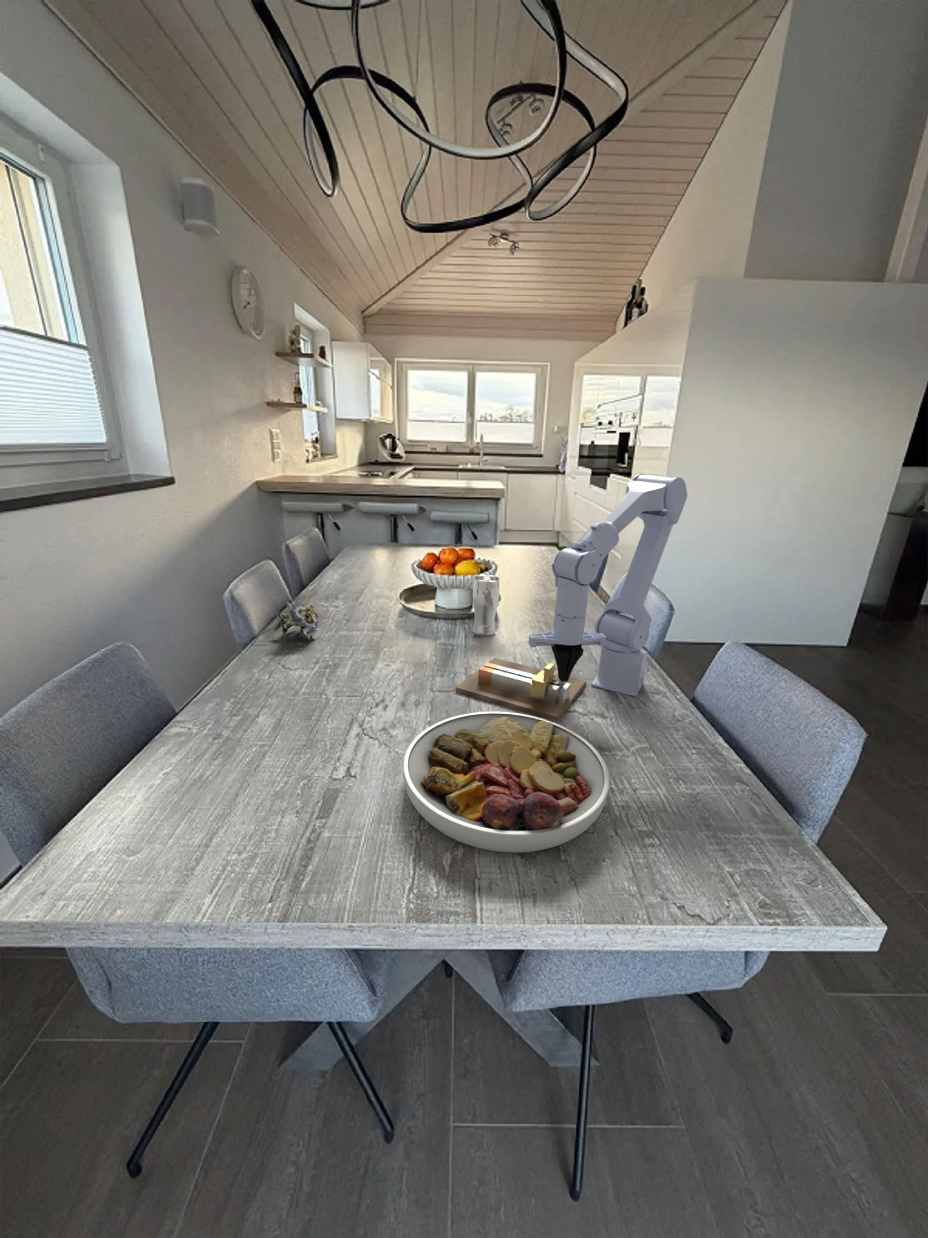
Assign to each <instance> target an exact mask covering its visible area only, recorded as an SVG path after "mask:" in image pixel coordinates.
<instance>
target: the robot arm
mask: <svg viewBox="0 0 928 1238" xmlns="http://www.w3.org/2000/svg"><path fill="white" fill-rule="evenodd" d="M687 499H688V490H687V484H686V482H685V480H684V479H683V477H682V476H681V477H680V476H676V477H671V476H660V475H652V474H644V473H637V474H636V475H634V476H633V477H632V479H631V480H630V481H629V482H628V483H627V485H626V489H625V495H624V497H623V498H622V499H621V500H620V502H619V503H618V504H617V506H616V507H615V508H614V509H613V510H612V511H611V513H610V514H609V515H608V516H607V517H606V519H605V520H604V521H603V520H602V521H601V520H599V521H596V522H592V524H591V525H590V527H589V528H588V529H587V530H586V531H585V532H584V533H583V534H582V535H581V536H580V537H579V539H578V540H577V541H575V543H573V545H572V546H571V547H566V548H563V549H562V550H560V551H559V552H558V553H557V554H556V555H555V557H554V560H553V563H551V570H552V574H553V575H554V585H555V587H556V594H555V595H556V596H555V605H554V616H553V625H552V626H553V627H552V631H546V632H545V631H544V632H540V633H539V632H538V633H534V634H533V633H529V634H528V635H529V636H528V645H529V647H530V648H537V647H544V646H545V647H551V650H552V653H553V657H554V659H555V662H556V663H555V665H556V666H557V667H556V668H557V674H558V678H559V679H560V681H561V682H568V680H569V677H571V675H572V674H571V673H572V671H573V670H574V667H575V666H576V664H577V662H578V661H579V660H580V659H581V658H582V657H583V655H584V648H583V646H599V647H601V648H600V656H599V666H598V672H597V676H596V677H595V678H594V679H593V680H592V682H591V684H590V685H591V686H592V687H597V688H599V689H600V688H601V689H603V690H604V689H605V690H608V691H611V692H615V693H619V694H623V695H626V696H627V695H628V696H632V697H637V695H638V694H639V692H640V690H641V688H642V687H641V686H643V685H644V682H645V681H644V680H645V674H646V669H647V668H646V667H647V660H648V651H646V650H643V649H642V648H643V647H644V646H645V645H646V644H647V642H648V640H649V636H650V627H651V623H652V620H653V619H652V616H651V615H650V613H649V612H648V610H647V609H646V607H645V606H644V605H645V603H646V599H647V596H648V594H649V591H650V589H651V586H652V584H653V580H654V578H655V575H656V572H657V570H658V567H659V564H660V562H661V559H662V556H663V554H664V552H665V551H664V550H665V548H666V546H667V543H668V540H669V537H670V534H671V532H672V529H673V526H674V525H677V524H678V523H679V519H680V517H681V514H682V512H683V509H684V506H685V505H686V501H687ZM637 517H638V518H639V519H641V521H643V522H642V523H643V525H644V526H643V530H642V532H641V535H640V538H639V540H638V542H637V546H636V549H635V551H634V554H633V557H632V560H631V563H630V565H629V568H628V570H627V574H626V576H625V579H624V581H623V585H622V587H621V590H620V593H619V595H618V597H617V598H615V599H613V600H610V601H609V602H607V603H605V605H604V607H603V610H602V612H601V613H600V614H599V616H598V617H597V619H596V622H595V626H594V627H595V628H594V629H595V630H594V631H595V632H589V631H585V627H586V626H585V624H586V616H587V615H586V614H587V608H588V607H587V606H588V601H589V600H588V599H589V591H590V584H591V583H592V582H593V581H595V579H596V578H597V577H598V576H597V575H598V573H599V570H600V568H601V566H602V564H603V560H604V559H605V558H606V557H607V556H608V555H609V553H610V552H611V551H612V550H613V549H615V547H616V546H617V545H618V544H619V542H620V536H619V534H620V533H621V532H622V531H624V529H625V528H627V526H628V525H630V524H631V523H632V522H633V521H634V520H635V519H636V518H637ZM623 614H626V615H623ZM627 615H629V616H632V617H629V616H627Z"/></svg>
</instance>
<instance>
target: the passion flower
mask: <svg viewBox="0 0 928 1238" xmlns="http://www.w3.org/2000/svg"><path fill="white" fill-rule="evenodd" d="M285 604H286V606H287V608H288V610H289V614H287V613H283V614H282V617H281V613H280V612H276V613H275V617H276V619H278V621H279V623H278V624H276V626H275V627H274V629H273V632H275V631H277V630H278V629H280V628H281V629H282V630H281V634H280V635H281V637H280V639H281V640H282V639H283V637H284V635H285V634H287V632H288V631H289V629H291V627H295V626H296V627H299V628H300V630H299V635H300V636H301V637H302V638H303V637H304V639H305V640H307V641H309V642H310V641H315V640H317V636H316V632H318V631H319V628H318V625H319V620H318V618H319V616H318V614H319V613H317V611H315V608H314V606H313V604H311V605H310V606H309V605H306V606H305V605H303V604H301V605H300V604H296V602H295V601H294V602H292V604H290V602H288V601H285ZM285 625H286V626H285Z"/></svg>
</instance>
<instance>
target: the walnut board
mask: <svg viewBox="0 0 928 1238" xmlns="http://www.w3.org/2000/svg"><path fill="white" fill-rule="evenodd" d="M487 663H491V664H495V665H499V666H502V667H506V668H510V669H514V670H518V671H522V672H526V673H530V674H534V675H537V674H538V673H539V672H540V671H541V670H543V671H544V669H540V668H537V667H533V666H530V665H529V666H528V665H524V664H520V663H516V662H513V661H509V660H505V659H500V658H498V657H497V658H496V657H493V658H492V659H491V660H490V661H488V662H487ZM483 667H484V665H483ZM554 673H555V674H556V676H555V678H554V679H553V680H560V679H559V678H558V672H554ZM478 675H479V669H477V671H475V672H473V673H472V674H471V675H470V676H468V677H467V678H466V679H464V680H463V681H462V682H460V683H459V684H458V685H456V686H455V693H459V694H463V695H466V696H469V697H473V698H476V699H480V700H483V701H486V702H490V703H492V704H493V703H494V704H496V705H499V706H504V707H507V708H510V709H513V710H517V711H520V712H524V713H527V714H529V715H532V716H536V717H539V718H543V719H546V720H549V721H550V720H551V721H553V722H558V721H559V720H560V719H561V718H562V715H563V714H564V713H565V712H566V711H567V710H568V708H569V707H570V706H571V705H572V703H573V702H574V701H575V700H576V698H577V697H578V696H579V694H581V692H582V691H583V690H584V688H585V687H587V680H585V679H581V678H577V677H572V676H570V677H569V680H568V682H564V685H565V684H566V683H571V687H570V695H569V699H568V700H567V701H566V702H565V704H564V705H563V706H558V702H559V699H558V702H557V703H556V704H551V703H547V702H544V701H540V700H537V699H533V698H530V697H526V696H522V695H519V694H515V693H512V692H508V691H505V690H501V689H497V688H494V687H490V686H487V685H483V684H479V683H478ZM564 685H563V686H564Z"/></svg>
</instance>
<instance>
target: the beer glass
mask: <svg viewBox="0 0 928 1238" xmlns="http://www.w3.org/2000/svg"><path fill="white" fill-rule="evenodd" d="M499 601H500V577H498V576H496V575H491V574H480V575H475V576H474V577H473V586H472V606H473V610H474V623H473V628H472V632H473V634H475V635H476V636H480V637H482V636H483V637H489V636H494V635H495V634H496V626H495V625H496V624H495V621H496V613H497V609H498V606H499Z"/></svg>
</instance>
